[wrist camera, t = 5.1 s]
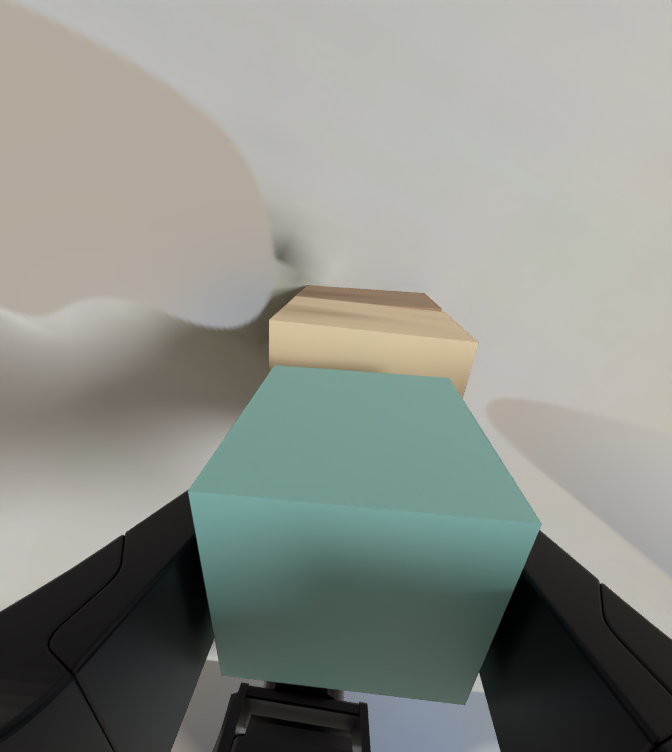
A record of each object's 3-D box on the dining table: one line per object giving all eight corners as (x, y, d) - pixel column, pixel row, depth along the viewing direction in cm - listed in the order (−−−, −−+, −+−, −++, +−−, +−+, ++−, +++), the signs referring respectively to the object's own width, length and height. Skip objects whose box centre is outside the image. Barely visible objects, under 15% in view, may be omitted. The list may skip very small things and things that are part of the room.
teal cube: (421, 509, 10) (464, 704, 6) (278, 496, 10) (221, 675, 6) (449, 377, 8) (541, 523, 4) (274, 365, 8) (187, 490, 4)
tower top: (415, 437, 15) (433, 501, 11) (291, 422, 15) (268, 480, 12) (444, 311, 13) (478, 342, 9) (295, 296, 13) (269, 319, 9)
